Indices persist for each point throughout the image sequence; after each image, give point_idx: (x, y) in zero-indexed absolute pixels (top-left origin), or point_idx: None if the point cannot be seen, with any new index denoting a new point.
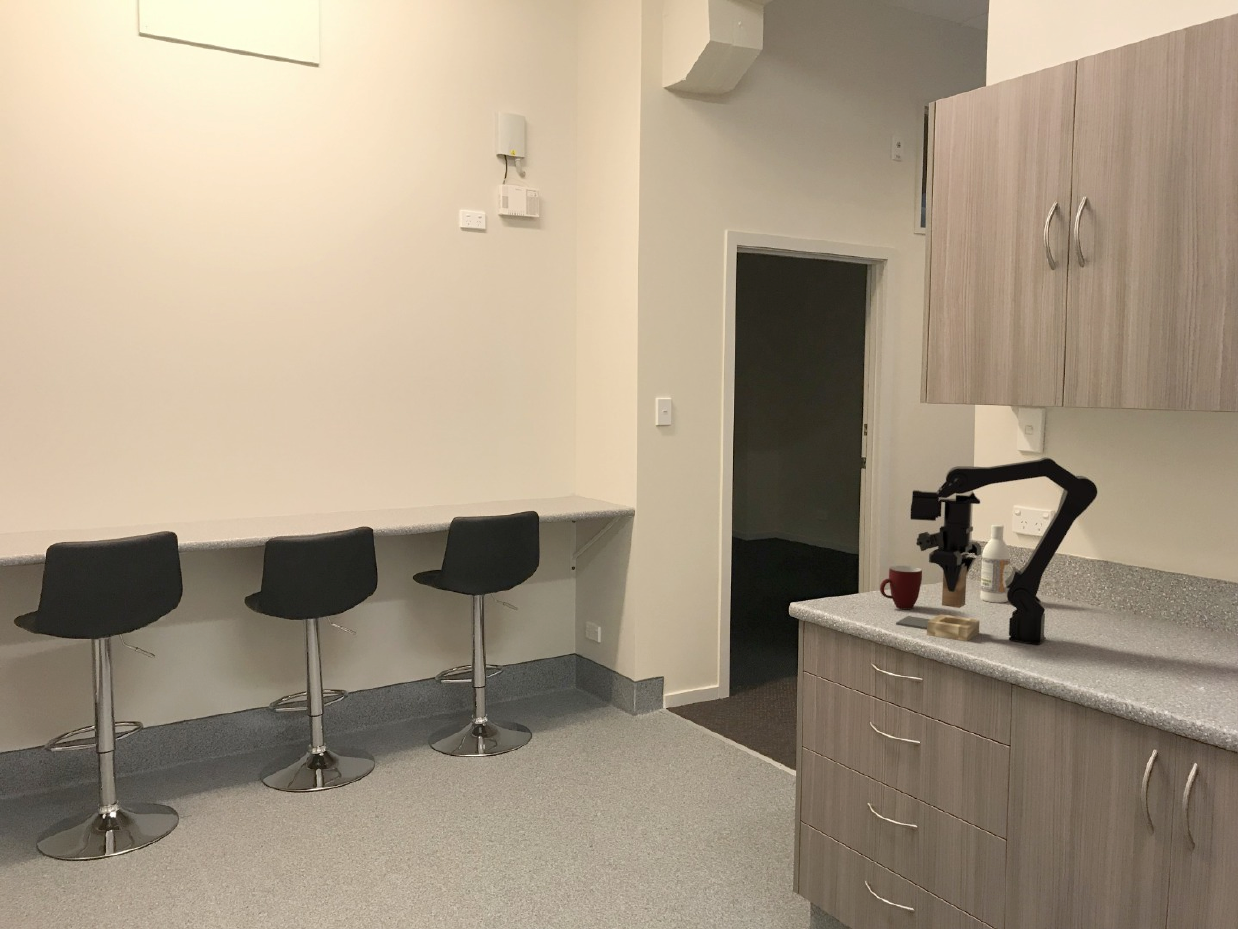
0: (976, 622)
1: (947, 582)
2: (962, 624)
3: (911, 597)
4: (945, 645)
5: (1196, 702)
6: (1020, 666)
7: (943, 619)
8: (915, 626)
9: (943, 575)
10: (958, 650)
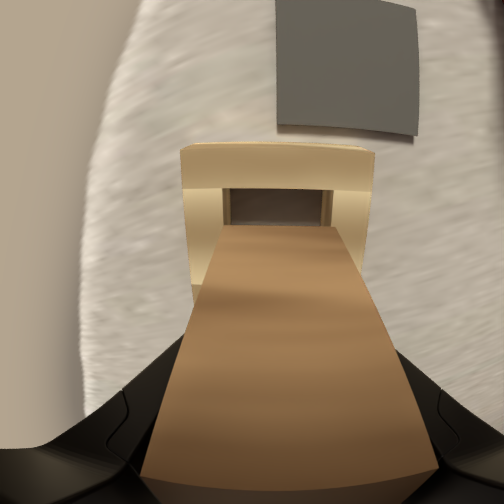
0: None
1: (153, 368)
2: None
3: None
4: (112, 246)
5: None
6: (105, 399)
7: (298, 187)
8: (277, 64)
9: (174, 374)
10: (97, 290)
